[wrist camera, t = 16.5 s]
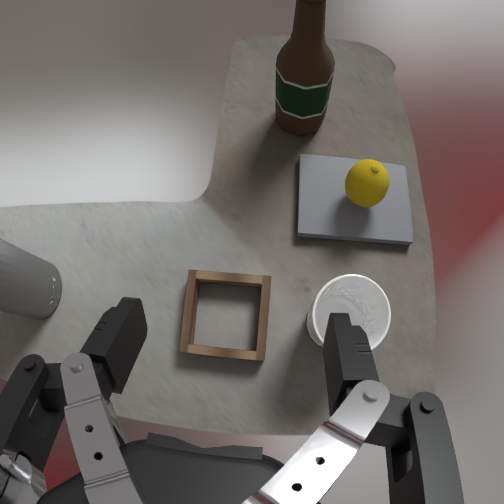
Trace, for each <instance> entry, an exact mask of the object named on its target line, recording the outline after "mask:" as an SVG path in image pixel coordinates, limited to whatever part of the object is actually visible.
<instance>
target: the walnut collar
mask: <svg viewBox="0 0 504 504" xmlns="http://www.w3.org/2000/svg"><path fill="white" fill-rule="evenodd" d="M200 282H202V283H214V284H225V285H238V286H251V287H262V290H261V302H260V314H259V326H258V338H257V350H256V351H250V350H239V349H229V348H219V347H210V346H202V345H194V344H193V341H194V331H195V321H196V312H197V303H198V294H199V286H200ZM270 287H271V276H265V275H251V274H238V273H225V272H212V271H199V270H189V272H188V279H187V287H186V295H185V304H184V312H183V321H182V331H181V340H180V350H179V351H180V352H187V353H194V354H202V355H210V356H219V357H228V358H238V359H249V360H261V361H264V360H265V349H266V337H267V325H268V313H269V300H270Z"/></svg>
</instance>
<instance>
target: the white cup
mask: <svg viewBox="0 0 504 504" xmlns="http://www.w3.org/2000/svg"><path fill="white" fill-rule="evenodd" d="M330 313H348V314H349V316H350V320H351V324H352V325H360V326H361V328H362V329H363V330H364V331H365V332H366V334H367V337H368V340H369V345H370V347H371V350H373V349H374V348H375V347H377V346H378V345H379V344H380V342H381V341H382V340H383V339H384V337H385V335H386V333H387V331H388V328H389V325H390V319H391V311H390V305H389V301H388V299H387V297H386V295H385V293H384V291H383V290H382V289H381V288H380V286H379V285H378V284H376V283H375V282H374V281H372V280H371V279H369V278H367V277H364V276H361V275H355V274H348V275H343V276H339V277H337V278H335V279H333V280H331V281H330V282H328V283H327V284H326V285H325V286H324V287H323V288H322V289H321V290H320V292H319V293H318V295H317V297H316V298H315V300H314V301H313V303H312V305H311V307H310V309H309V312H308V315H307V323H306V326H307V329H308V332H309V335H310V337H311V338H312V339H313V340H314V341H315V342H316V343H317V344H318V345H319V346H321V347H322V348H323V343H324V337H325V333H326V328H327V324H328V319H329V315H330Z"/></svg>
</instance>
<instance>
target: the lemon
mask: <svg viewBox="0 0 504 504" xmlns="http://www.w3.org/2000/svg"><path fill="white" fill-rule="evenodd" d="M388 188H389V175H388V172H387V170H386V169H385V167H384V166H383V165H382V164H381V163H379V162H378V161H375V160H371V159H364V160H361V161H359V162H357V163H356V164H354V165H353V166H352V168H351V169H350V170H349V171H348V173H347V176H346V179H345V191H346V194H347V196H348V198H349V199H350V200H351V201H352V202H353V203H354V204H356V205H358V206H360V207H372V206H375V205H376V204H378V203H380V202H381V201H382V200H383V198H384V197H385V196H386V193H387V191H388Z"/></svg>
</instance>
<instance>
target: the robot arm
mask: <svg viewBox="0 0 504 504" xmlns="http://www.w3.org/2000/svg"><path fill="white" fill-rule="evenodd" d="M61 289H62V285H61V278H60V275H59V272H58V270H57V269H56V267H55V266H54V265H53V264H51V263H49V262H47V261H45V260H43V259H41V258H39V257H37V256H35V255H33V254H31V253H29V252H27V251H24V250H22V249H20V248H18V247H16V246H14V245H12V244H10V243H8V242H6V241H4V240H3V239H1V238H0V311H3V312H7V313H11V314H16V315H20V316H25V317H30V318H35V319H43V318H46V317H48V316H49V315H51V314H52V313H53V311H54V310H55V309H56V307H57V305H58V303H59V300H60V296H61ZM146 336H147V323H146V319H145V314H144V310H143V305H142V301H141V300H140V299H139V298H130V297H123V298H122V299H121V301H120V302H119V304H118V305H117V307H111V308H110V309H109V310H108V311H106V312H105V313H104V314H103V315H102V317H101V318H100V320H99V323H97V325H96V326H95V328H94V330H93V331H92V333H91V334H90V336H89V338H88V339H87V341H86V342H85V344H84V346H83V347H82V349H81V351H80V352H79V353H73V354H71V355H69V356H67V357H66V358H65V359H64V360H63V361H62V363H50V364H46V363H45V361H44V360H43V358H42V357H41V356H39V355H36V354H32V355H28V356H26V357H24V358H23V359H22V360H21V361H20V362H19V364H18V365H17V367H16V368H15V370H14V372H13V373H12V375H11V377H10V379H9V380H8V382H7V384H6V386H5V387H4V389H3V391H2V393H1V395H0V504H321V503H320V502H319V501H320V499H321V498H322V497H323V496H324V495H325V494H326V492H327V491H328V490H329V489H330V487H331V486H332V485H333V484H334V482H335V481H336V480H337V478H338V477H339V476H340V475H341V473H342V472H343V471H344V469H345V468H346V467H347V465H348V464H349V462H350V461H351V460H352V458H353V457H354V455H355V454H356V453H357V451H358V450H359V449H360V447H361V446H362V444H363V443H364V442H365V443H369V444H374V445H378V446H383V447H385V449H386V458H387V468H388V481H389V496H390V504H464V499H463V492H462V486H461V480H460V475H459V470H458V465H457V460H456V455H455V451H454V446H453V442H452V437H451V433H450V429H449V426H448V421H447V418H446V414H445V411H444V407H443V404H442V402H441V400H440V399H439V398H438V397H437V396H436V395H434V394H432V393H429V392H420V393H417V394H416V395H414V396H413V398H412V399H409V398H404V397H399V396H395V395H393V394H390V393H389V391H388V389H387V388H386V387H385V386H384V385H383V384H381V383H380V382H379V378H378V374H377V370H376V366H375V362H374V359H373V355H372V353H371V347H370V345H369V340H368V337H367V334H366V332H365V331H364V330H363V329H362V328H361V326H360V325H352V324H351V320H350V316H349V314H348V313H330V315H329V319H328V324H327V328H326V333H325V337H324V343H323V355H324V364H325V372H326V381H327V391H328V401H329V411H330V416H332V417H331V418H330V419H329V420H328V421H327V422H324V423H322V424H321V425H320V426H319V428H318V429H317V430H316V431H315V432H314V433H313V435H312V436H311V437H310V438H309V439H308V440H307V441H306V443H305V444H304V445H303V446H302V447H301V448H300V449H299V450H298V451H297V452H296V453H295V455H294V456H293V457H292V458H291V459H290V460H289V461H288V462H287V463H286V464H285V465H284V464H283V463H281V462H280V461H278V460H276V459H274V458H272V457H269V456H266V455H263V454H262V447H247V446H236V445H232V446H223V447H213V448H200V447H198V446H195V445H192V444H190V443H187V442H185V441H183V440H180V439H178V438H175V437H170V436H164V435H159V434H154V433H148V437H147V439H144V440H137V441H133V442H130V443H128V441H127V440H126V438H125V436H124V433H123V431H122V429H121V426H120V424H119V421H118V418H117V416H116V413H115V411H114V408H113V405H112V402H111V400H110V396H111V394H112V392H114V393H118V394H122V391H123V389H124V387H125V384H126V382H127V380H128V377H129V375H130V373H131V370H132V368H133V366H134V364H135V361H136V359H137V357H138V355H139V352H140V350H141V348H142V346H143V344H144V341H145V339H146ZM36 400H37V403H36V405H35V407H34V409H33V412H32V413H31V416H30V418H29V414H30V412H31V409H32V407H33V405H34V403H35V401H36ZM64 416H66V420H67V424H68V428H69V432H70V436H71V440H72V444H73V447H74V451H75V454H76V457H77V460H78V464H79V467H80V470H81V472H79V473H78V474H76V475H74V476H73V477H71V478H70V479H68V480H66V481H64V482H63V483H61V484H59V485H58V486H56V487H54V488H52V489H51V490H49V491H47V487H46V480H45V477H44V475H43V470H44V467H45V465H46V462H47V459H48V456H49V454H50V451H51V448H52V446H53V443H54V440H55V438H56V436H57V433H58V431H59V428H60V426H61V423H62V421H63V418H64Z"/></svg>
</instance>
